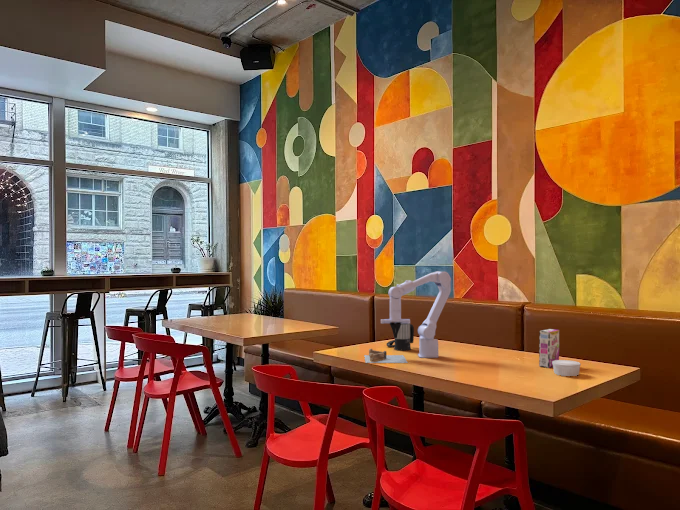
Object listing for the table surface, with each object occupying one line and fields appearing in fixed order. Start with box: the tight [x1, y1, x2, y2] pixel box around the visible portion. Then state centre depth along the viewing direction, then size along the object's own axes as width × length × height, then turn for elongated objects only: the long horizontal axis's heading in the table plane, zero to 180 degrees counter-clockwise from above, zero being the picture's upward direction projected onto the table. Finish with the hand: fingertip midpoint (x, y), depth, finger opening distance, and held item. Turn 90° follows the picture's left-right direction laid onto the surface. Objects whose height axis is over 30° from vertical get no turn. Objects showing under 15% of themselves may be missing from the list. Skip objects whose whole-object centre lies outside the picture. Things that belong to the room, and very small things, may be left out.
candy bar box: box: [538, 328, 560, 369], centre depth 238 cm, size 11×5×16 cm, turn 134°
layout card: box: [363, 354, 408, 364], centre depth 255 cm, size 20×19×1 cm
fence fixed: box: [368, 348, 387, 359], centre depth 259 cm, size 2×11×4 cm, turn 45°
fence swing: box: [370, 353, 384, 361], centre depth 251 cm, size 9×2×3 cm, turn 133°
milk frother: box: [386, 322, 415, 352], centre depth 286 cm, size 14×16×15 cm
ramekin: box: [552, 359, 581, 377], centre depth 220 cm, size 11×11×5 cm
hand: (395, 337), depth 259 cm, fingers closed
